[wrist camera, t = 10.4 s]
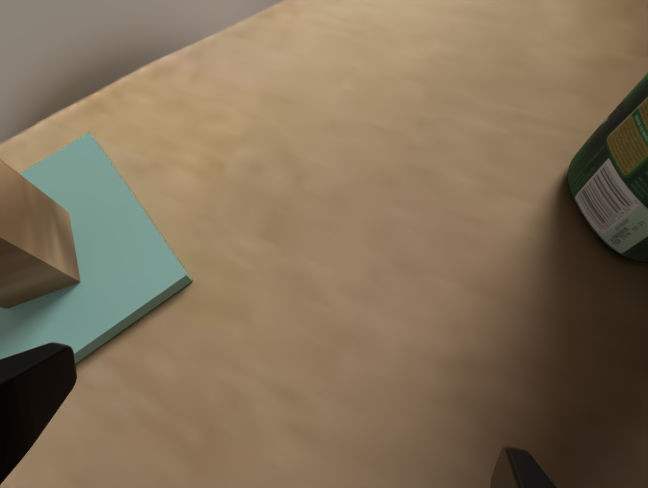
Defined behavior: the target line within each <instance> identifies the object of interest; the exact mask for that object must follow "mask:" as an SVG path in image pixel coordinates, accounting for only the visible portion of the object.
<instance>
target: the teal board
mask: <svg viewBox="0 0 648 488" xmlns="http://www.w3.org/2000/svg"><path fill="white" fill-rule="evenodd" d="M20 175H22V176H23V177H24V178H25V179H27V180H28V181H29V182H31V183H32V184H33V185H34V186H36V187H37V188H38V189H40V190H41V191H42V192H43V193H45V194H46V195H47V196H49V197H50V198H51V199H52V200H54V201H55V202H56V203H58V204H59V205H60V206H61V207H63V208H64V209H65V210H67V211H68V212H69V215H70V221H71V227H72V233H73V239H74V245H75V251H76V257H77V263H78V269H79V275H80V281H81V282H79V283H77V284H74V285H71V286H69V287H66V288H63V289H60V290H58V291H55V292H52V293H49V294H47V295H44V296H41V297H38V298H36V299H33V300H30V301H27V302H25V303H22V304H19V305H16V306H14V307H11V308H8V309H5V308H2V307H0V359H3V358H6V357H9V356H12V355H15V354H18V353H21V352H24V351H27V350H30V349H33V348H35V347H38V346H41V345H44V344H47V343H51V342H57V343H61V344H65V345H69V346H71V347H72V349H73V351H74V358H75V364H76V363H77V362H79V361H80V360H82V359H83V358H84V357H86V356H87V355H89V354H90V353H91V352H93V351H94V350H96V349H97V348H98V347H100V346H101V345H103V344H104V343H106V342H107V341H108V340H110V339H111V338H113V337H114V336H115V335H117V334H118V333H120V332H121V331H123V330H124V329H125V328H127V327H128V326H130V325H131V324H132V323H134V322H135V321H137V320H138V319H140V318H141V317H142V316H144V315H145V314H147V313H148V312H149V311H151V310H152V309H154V308H155V307H157V306H158V305H159V304H161V303H162V302H164V301H165V300H166V299H168V298H169V297H171V296H172V295H173V294H175V293H176V292H178V291H179V290H181V289H182V288H183V287H185V286H186V285H188V284H189V283H190V282H192V279H191V278H190V276H189V275H188V273H187V272H186V270H185V269H184V267H183V266H182V264H181V263H180V262H179V260H178V259H177V257H176V256H175V254H174V253H173V251H172V250H171V248H170V247H169V246H168V244H167V243H166V241H165V240H164V238H163V237H162V235H161V234H160V232H159V231H158V230H157V228H156V227H155V225H154V224H153V222H152V221H151V219H150V218H149V216H148V215H147V214H146V212H145V211H144V209H143V208H142V206H141V205H140V203H139V202H138V200H137V199H136V197H135V196H134V195H133V193H132V192H131V190H130V189H129V187H128V186H127V184H126V183H125V181H124V180H123V179H122V177H121V176H120V174H119V173H118V171H117V170H116V168H115V167H114V165H113V164H112V163H111V161H110V160H109V158H108V157H107V155H106V154H105V152H104V151H103V149H102V148H101V147H100V145H99V144H98V142H97V141H96V140H95V139H94V138H93V136H92V135H91V134H90V133H87V134H85V135H84V136H82V137H80V138H79V139H77V140H75V141H74V142H72V143H70V144H69V145H67V146H65V147H64V148H62V149H60V150H59V151H57V152H55V153H54V154H52V155H50V156H49V157H47V158H45V159H44V160H42V161H40V162H39V163H37V164H35V165H34V166H32V167H30V168H29V169H27V170H25V171H24V172H22V173H20Z"/></svg>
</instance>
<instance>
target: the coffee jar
mask: <svg viewBox="0 0 648 488" xmlns="http://www.w3.org/2000/svg"><path fill="white" fill-rule="evenodd" d="M568 183H569V186H570V190H571V193H572V196H573V198H574V200H575V203H576V205H577V207H578V209H579V211H580V213H581V215H582V217H583V218H584V220H585V221H586V222H587V224H588V225H589V227H590V228H591V229H592V231H593V232H594V233H595V234H596V235H597V236H598V237H599V238H600V239H601V240H602V241H603V242H604V243H605V244H606V245H607V246H608V247H609V248H611V249H612V250H613V251H615V252H617V253H619V254H621V255H622V256H624V257H627V258H629V259H633V260H636V261H642V262H648V73H647V74H646V75H645V76H644V78H643V79H642V80H641V81H640V82H639V83H638V84H637V85H636V86H635V88H634V89H633V90H632V91H631V92H630V93H629V94H628V95H627V97H626V98H625V99H624V100H623V101H622V102H621V103H620V104H619V105H618V106H617V107H616V109H615V110H614V111H613V112H612V113H611V114H610V115H609V116H608V117H607V118H606V119H605V121H604V122H603V123H602V124H601V125H600V126H599V127H598V129H597V130H596V131H595V132H594V133H593V134H592V135H591V137H590V138H589V139H588V140H587V142H586V143H585V144H584V145H583V146H582V148H581V149H580V150H579V151H578V152H577V154H576V155H575V156H574V158H573V159H572V161H571V163H570V166H569V169H568Z"/></svg>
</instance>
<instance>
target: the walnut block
mask: <svg viewBox="0 0 648 488" xmlns="http://www.w3.org/2000/svg"><path fill="white" fill-rule="evenodd" d="M79 282H81V281H80V275H79V269H78V263H77V257H76V251H75V245H74V239H73V233H72V227H71V221H70V215H69V212H68V211H67V210H65V209H64V208H63V207H61V206H60V205H59V204H58V203H56V202H55V201H54V200H52V199H51V198H50V197H49V196H47V195H46V194H45V193H43V192H42V191H41V190H40V189H38V188H37V187H36V186H34V185H33V184H32V183H31V182H29V181H28V180H27V179H25V178H24V177H23V176H22V175H20V174H19V173H18V172H16V171H15V170H14V169H13V168H11V167H10V166H9V165H7V164H6V163H5V162H4V161H2V160H1V159H0V307H2V308H5V309H8V308H11V307H14V306H16V305H19V304H22V303H25V302H27V301H30V300H33V299H36V298H38V297H41V296H44V295H47V294H49V293H52V292H55V291H58V290H60V289H63V288H66V287H69V286H71V285H74V284H77V283H79Z"/></svg>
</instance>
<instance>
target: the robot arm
mask: <svg viewBox="0 0 648 488" xmlns="http://www.w3.org/2000/svg"><path fill="white" fill-rule="evenodd" d="M76 378H77V373H76V366H75V358H74V351H73V349H72V347H71V346H69V345H65V344H61V343H57V342H51V343H47V344H44V345H41V346H38V347H35V348H33V349H30V350H27V351H24V352H21V353H18V354H15V355H12V356H9V357H6V358H3V359H0V485H1V483H2V482H3V481H4V480H5V479H6V477H7V476H8V475H9V474H10V473H11V471H12V470H13V469H14V468H15V467H16V466H17V464H18V463H19V462H20V461H21V460H22V458H23V457H24V456H25V455H26V453H27V452H28V451H29V450H30V448H31V447H32V445H33V444H34V443H35V441H36V440H37V439H38V437H39V436H40V434H41V433H42V432H43V430H44V429H45V427H46V426H47V424H48V423H49V422H50V420H51V419H52V417H53V416H54V414H55V413H56V412H57V410H58V409H59V407H60V406H61V404H62V403H63V402H64V400H65V399H66V397H67V396H68V395H69V393H70V392H71V390H72V389H73V387H74V385H75V383H76ZM490 488H556V486H555V485H554V484H553V483H552V481H551V480H550V479H549V478H548V476H547V475H546V474H545V473H544V471H543V470H542V469H541V468H540V466H539V465H538V464H537V463H536V461H535V460H534V459H533V458H532V456H531V455H530V454H529V453H528V452H527V451H525V450H522V449H518V448H514V447H509V446H505V447H503V448H502V450H501V452H500V455H499V457H498V460H497V463H496V466H495V469H494V472H493V474H492V478H491V486H490Z"/></svg>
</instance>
